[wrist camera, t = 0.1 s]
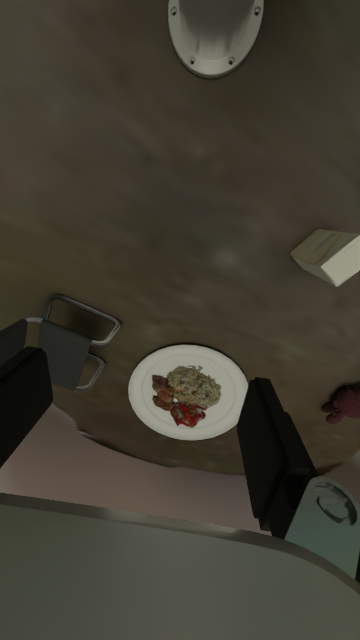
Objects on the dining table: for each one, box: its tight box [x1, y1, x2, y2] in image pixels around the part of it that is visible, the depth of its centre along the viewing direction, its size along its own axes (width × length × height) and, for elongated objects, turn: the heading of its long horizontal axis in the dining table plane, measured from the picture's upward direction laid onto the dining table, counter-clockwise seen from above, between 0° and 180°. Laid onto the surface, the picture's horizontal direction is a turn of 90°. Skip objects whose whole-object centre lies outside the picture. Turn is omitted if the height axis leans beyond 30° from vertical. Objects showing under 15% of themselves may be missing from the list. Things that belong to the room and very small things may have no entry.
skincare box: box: [290, 229, 360, 286], centre depth 37 cm, size 6×4×12 cm
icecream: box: [322, 386, 360, 424], centre depth 51 cm, size 7×8×15 cm
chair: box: [0, 294, 120, 392], centre depth 42 cm, size 13×17×22 cm
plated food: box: [128, 345, 248, 440], centre depth 56 cm, size 30×30×3 cm
